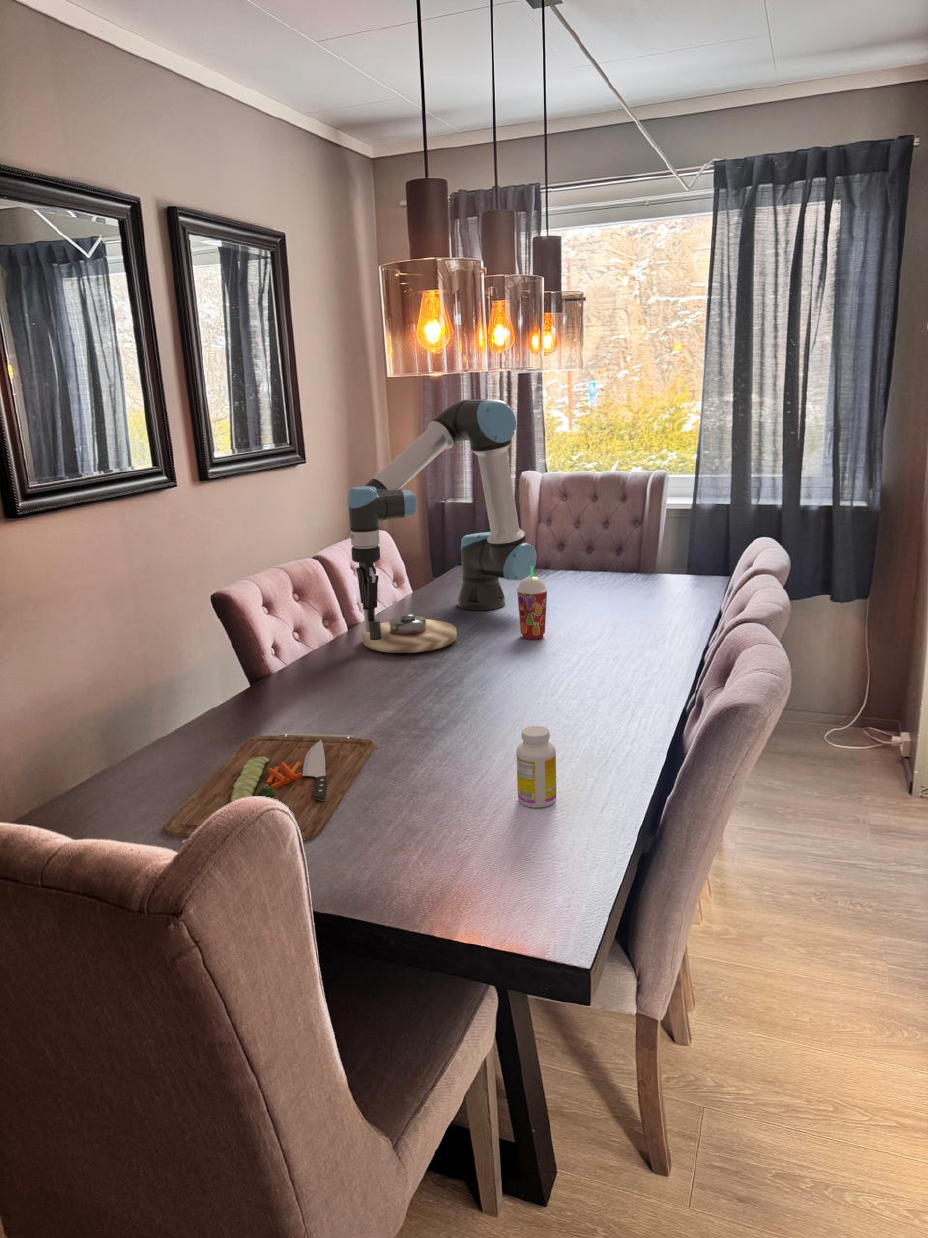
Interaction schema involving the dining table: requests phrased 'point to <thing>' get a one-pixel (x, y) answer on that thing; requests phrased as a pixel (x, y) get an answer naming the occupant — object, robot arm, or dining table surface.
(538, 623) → the smoothie
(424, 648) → the turntable
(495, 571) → the robot arm
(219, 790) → the chopping board
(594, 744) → the dining table surface
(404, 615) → the cover
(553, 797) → the supplement bottle
